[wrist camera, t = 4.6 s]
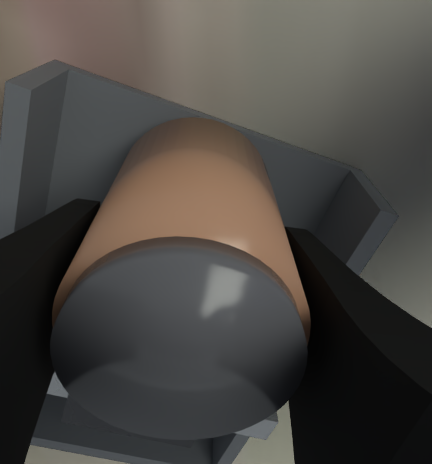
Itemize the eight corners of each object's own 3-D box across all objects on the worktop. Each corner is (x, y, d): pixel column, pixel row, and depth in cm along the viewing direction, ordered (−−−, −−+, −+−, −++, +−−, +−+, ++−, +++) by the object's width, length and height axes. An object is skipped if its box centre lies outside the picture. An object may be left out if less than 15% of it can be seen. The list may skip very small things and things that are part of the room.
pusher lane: (360, 169, 15) (399, 216, 12) (219, 412, 22) (220, 480, 19) (54, 59, 13) (5, 81, 10) (10, 367, 20) (-26, 434, 17)
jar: (274, 116, 12) (339, 248, 6) (264, 253, 15) (303, 444, 9) (110, 117, 12) (4, 250, 6) (129, 253, 15) (67, 446, 9)
